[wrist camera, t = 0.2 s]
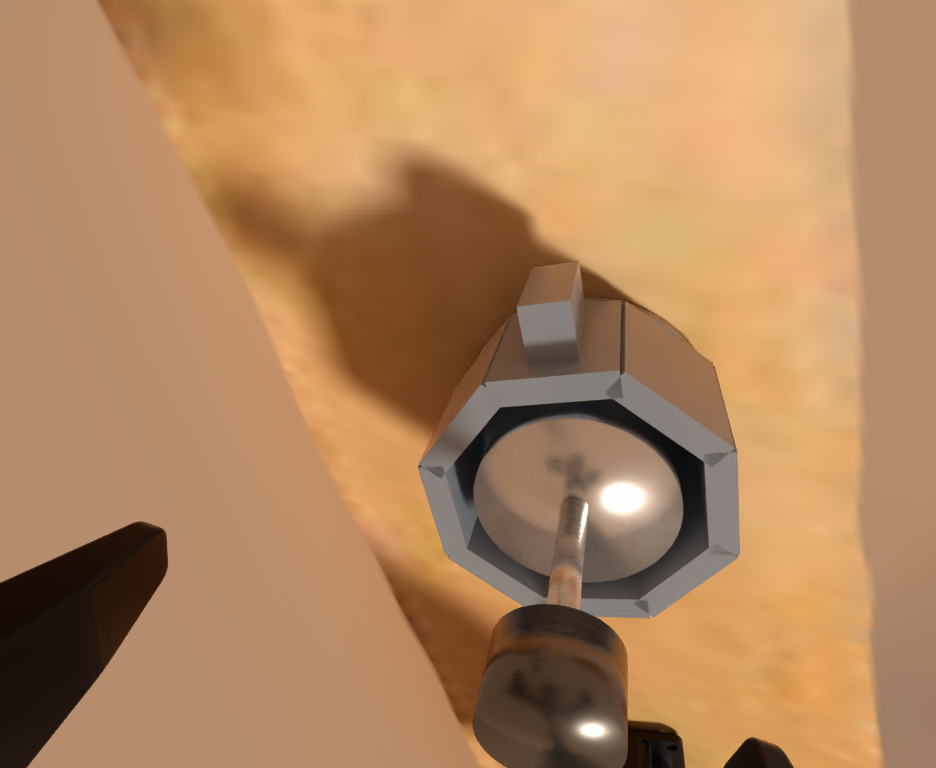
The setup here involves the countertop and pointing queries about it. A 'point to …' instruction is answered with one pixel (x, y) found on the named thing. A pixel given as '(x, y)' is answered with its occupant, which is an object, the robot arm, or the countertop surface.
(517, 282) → the countertop surface
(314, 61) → the countertop surface
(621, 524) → the plunger
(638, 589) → the press pot
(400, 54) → the countertop surface
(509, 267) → the countertop surface
